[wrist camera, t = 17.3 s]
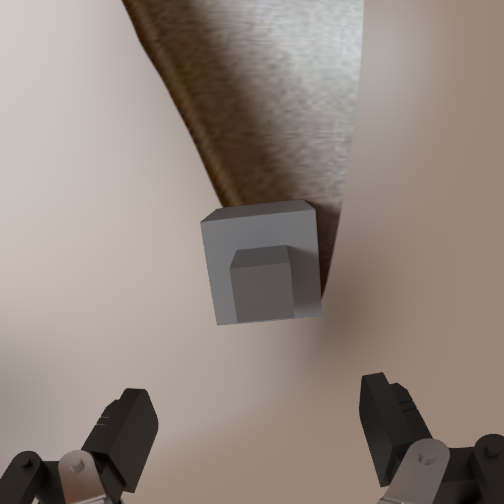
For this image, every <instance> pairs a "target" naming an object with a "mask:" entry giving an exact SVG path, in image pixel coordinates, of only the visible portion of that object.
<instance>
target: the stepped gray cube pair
mask: <svg viewBox="0 0 504 504" xmlns="http://www.w3.org/2000/svg"><path fill="white" fill-rule="evenodd" d="M200 223H201V230H202V236H203V243H204V250H205V256H206V263H207V269H208V274H209V281H210V287H211V293H212V298H213V304H214V310H215V316H216V321H217V325H227V324H240V323H252V322H264V321H274V320H285V319H295V318H303V317H313V316H321V315H322V312H321V287H320V269H319V253H318V239H317V226H316V214H315V209H314V208H313V207H311V206H310V205H309V204H308V203H307V202H306V201H304V200H303V199H302V200H291V201H281V202H272V203H262V204H253V205H245V206H236V207H228V208H220V209H216V210H215V211H214V212H212V213H211V214H210V215H209V216H207V217H206V218H205V219H204V220H202V221H201V222H200Z"/></svg>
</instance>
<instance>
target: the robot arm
mask: <svg viewBox="0 0 504 504" xmlns="http://www.w3.org/2000/svg"><path fill="white" fill-rule="evenodd" d="M359 414H360V420H361V424H362V427H363V430H364V433H365V437H366V440H367V443H368V446H369V450H370V453H371V456H372V459H373V463H374V466H375V470H376V473H377V476H378V480H379V483H380V487H385V486H389V487H388V489H387V491H386V493H385V494H384V496H383V498H382V499H380V500H379V501H378V503H377V504H504V436H502V435H498V434H488V435H485V436H483V437H481V438H480V439H479V440H478V441H477V442H476V444H475V446H474V447H465V448H448V447H447V446H446V445H445V444H444V443H443V442H441V441H439V440H436V439H433V438H432V436H431V434H430V432H429V430H428V428H427V426H426V424H425V422H424V420H423V418H422V417H421V415H420V413H419V411H418V409H417V408H416V405H415V404H414V402H413V401H412V398H411V396H410V395H409V392H408V390H407V389H405V388H404V387H402V386H401V385H400V384H398V383H394V384H389V383H388V381H387V379H386V377H385V375H384V373H383V372H380V373H375V374H370V375H364V376H362V380H361V392H360V403H359ZM157 431H158V418H157V415H156V413H155V410H154V408H153V405H152V402H151V400H150V397H149V395H148V392H147V391H146V390H145V389H133V388H127V389H126V390H124V392H123V394H122V395H121V397H120V399H119V400H114V401H113V402H112V403H111V404H109V405H108V406H107V407H106V409H105V410H104V412H103V413H102V415H101V418H99V420H98V421H97V425H95V426H94V428H93V430H92V432H91V433H90V435H89V436H88V438H87V440H86V441H85V443H84V445H83V447H82V448H81V450H75V451H71V452H69V453H67V454H65V455H64V456H63V457H62V458H61V459H60V461H42V459H41V458H40V457H39V455H38V454H37V453H35V452H33V451H25V452H21V453H19V454H18V455H16V456H15V457H14V459H13V460H12V462H11V463H10V465H9V466H8V468H7V469H6V471H5V472H4V474H3V476H2V477H1V479H0V504H32V502H33V500H34V498H36V499H37V500H38V501H39V502H38V504H124V502H123V500H122V498H121V495H122V492H123V491H126V492H130V493H134V492H135V489H136V487H137V484H138V481H139V479H140V476H141V474H142V471H143V468H144V466H145V463H146V460H147V458H148V455H149V453H150V450H151V447H152V445H153V442H154V440H155V437H156V434H157Z"/></svg>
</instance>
